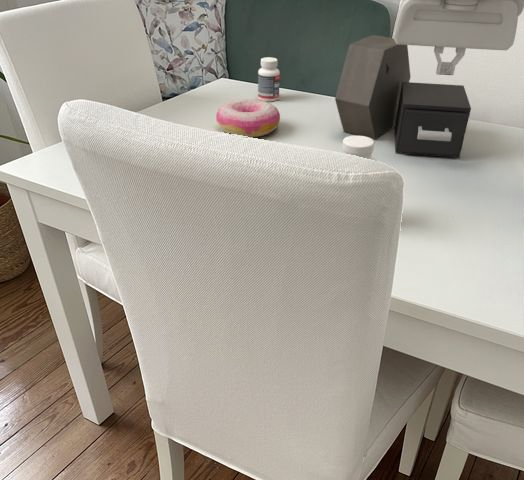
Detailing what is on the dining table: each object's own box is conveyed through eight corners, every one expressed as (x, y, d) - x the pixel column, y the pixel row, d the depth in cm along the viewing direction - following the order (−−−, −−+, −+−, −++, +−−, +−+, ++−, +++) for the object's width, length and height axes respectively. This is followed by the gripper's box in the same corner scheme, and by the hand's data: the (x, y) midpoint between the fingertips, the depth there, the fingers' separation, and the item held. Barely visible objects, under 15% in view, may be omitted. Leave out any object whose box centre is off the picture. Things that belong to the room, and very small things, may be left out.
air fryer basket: (459, 164, 109) (470, 123, 103) (399, 160, 110) (406, 119, 105) (452, 131, 122) (460, 93, 117) (398, 127, 123) (404, 89, 118)
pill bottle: (277, 102, 138) (278, 62, 132) (256, 101, 139) (256, 61, 133) (280, 95, 142) (281, 57, 136) (259, 94, 143) (260, 55, 137)
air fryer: (459, 157, 113) (471, 108, 107) (395, 153, 115) (403, 103, 109) (453, 132, 124) (463, 85, 118) (394, 128, 126) (402, 81, 120)
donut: (205, 133, 122) (203, 109, 119) (236, 115, 131) (236, 92, 128) (260, 145, 117) (260, 120, 114) (289, 125, 126) (290, 102, 123)
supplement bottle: (337, 205, 97) (345, 129, 89) (375, 214, 95) (386, 137, 86) (323, 222, 92) (330, 144, 84) (362, 232, 90) (373, 152, 82)
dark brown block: (381, 89, 131) (368, 11, 113) (412, 95, 128) (404, 16, 110) (347, 148, 129) (329, 78, 110) (378, 156, 125) (364, 85, 107)
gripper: (525, -17, 94) (501, 72, 103) (400, -23, 97) (388, 66, 106) (533, -11, 90) (507, 83, 99) (401, -17, 92) (387, 75, 101)
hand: (444, 74), depth 102 cm, fingers closed
